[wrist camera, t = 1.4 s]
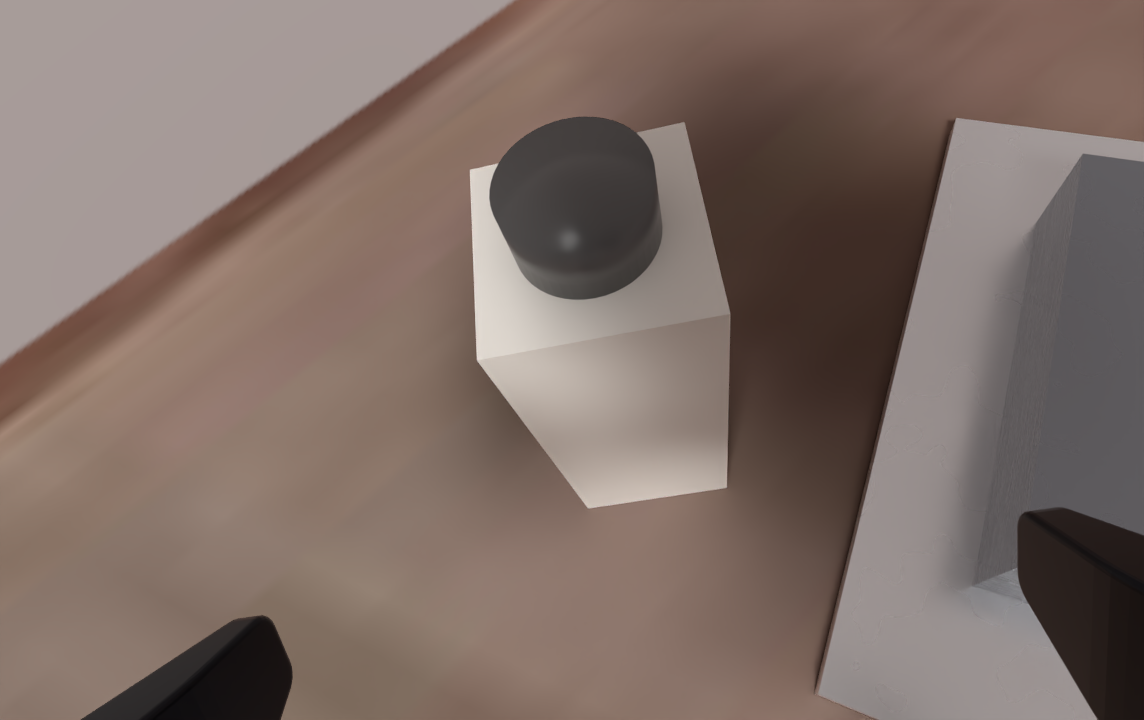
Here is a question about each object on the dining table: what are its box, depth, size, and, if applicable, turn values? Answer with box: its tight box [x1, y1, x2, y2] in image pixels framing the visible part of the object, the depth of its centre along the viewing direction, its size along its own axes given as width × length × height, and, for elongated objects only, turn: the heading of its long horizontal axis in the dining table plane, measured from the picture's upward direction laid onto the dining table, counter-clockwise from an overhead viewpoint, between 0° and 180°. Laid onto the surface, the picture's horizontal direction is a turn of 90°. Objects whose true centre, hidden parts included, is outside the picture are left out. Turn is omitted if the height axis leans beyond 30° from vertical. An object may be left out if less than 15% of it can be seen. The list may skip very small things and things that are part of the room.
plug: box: [470, 117, 730, 509], centre depth 17 cm, size 4×4×12 cm
